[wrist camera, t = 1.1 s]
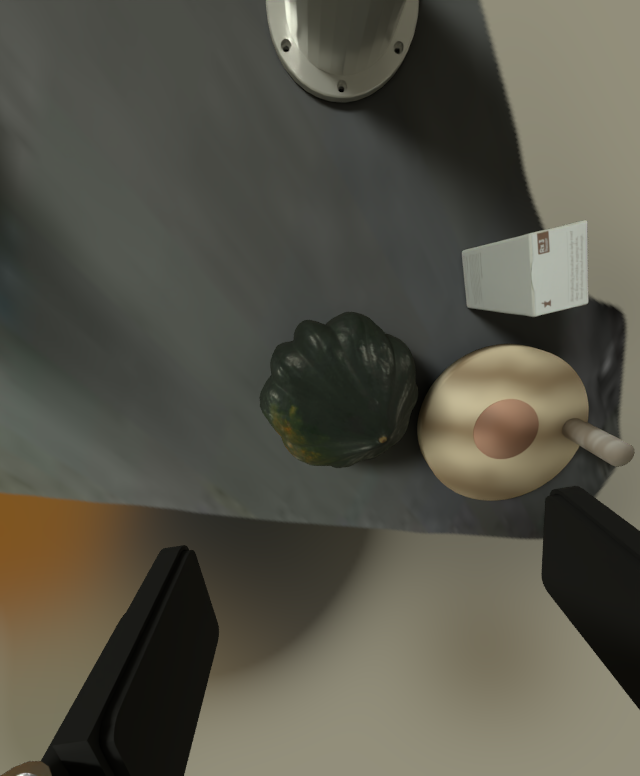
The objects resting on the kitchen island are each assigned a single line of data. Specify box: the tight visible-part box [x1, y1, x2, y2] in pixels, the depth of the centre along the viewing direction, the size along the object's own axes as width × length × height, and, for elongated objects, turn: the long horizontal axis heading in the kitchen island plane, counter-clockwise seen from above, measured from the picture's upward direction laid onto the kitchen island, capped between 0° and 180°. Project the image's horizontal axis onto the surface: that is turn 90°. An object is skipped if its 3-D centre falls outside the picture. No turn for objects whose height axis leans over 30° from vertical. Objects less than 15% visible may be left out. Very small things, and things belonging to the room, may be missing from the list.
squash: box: [260, 312, 418, 468], centre depth 33 cm, size 14×15×15 cm
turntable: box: [417, 344, 634, 501], centre depth 35 cm, size 18×18×8 cm
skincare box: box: [462, 220, 588, 317], centre depth 30 cm, size 6×4×12 cm
